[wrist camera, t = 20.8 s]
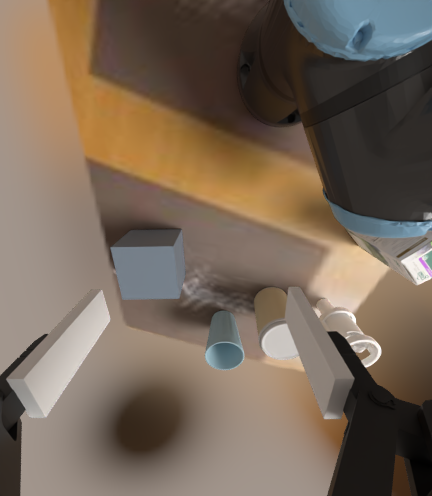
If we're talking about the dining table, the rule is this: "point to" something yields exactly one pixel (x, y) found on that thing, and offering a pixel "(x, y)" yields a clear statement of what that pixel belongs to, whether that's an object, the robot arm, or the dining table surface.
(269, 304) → the coffee cup
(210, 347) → the cup
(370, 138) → the robot arm
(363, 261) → the dining table surface
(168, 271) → the slate blue cube
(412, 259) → the syrup box
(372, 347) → the white hollow stepped cylinder
